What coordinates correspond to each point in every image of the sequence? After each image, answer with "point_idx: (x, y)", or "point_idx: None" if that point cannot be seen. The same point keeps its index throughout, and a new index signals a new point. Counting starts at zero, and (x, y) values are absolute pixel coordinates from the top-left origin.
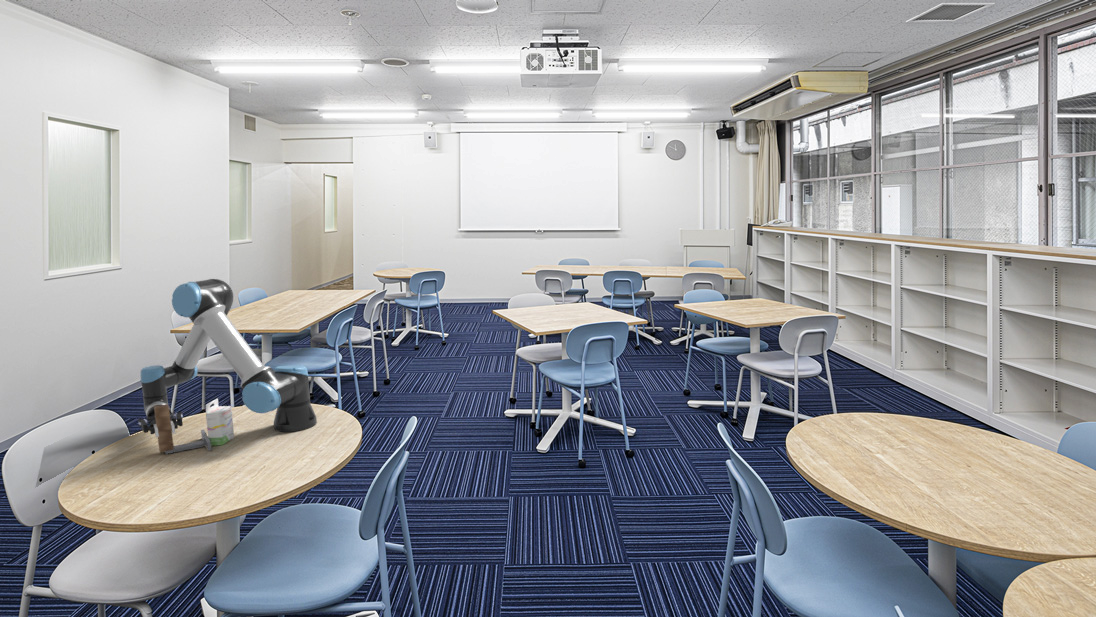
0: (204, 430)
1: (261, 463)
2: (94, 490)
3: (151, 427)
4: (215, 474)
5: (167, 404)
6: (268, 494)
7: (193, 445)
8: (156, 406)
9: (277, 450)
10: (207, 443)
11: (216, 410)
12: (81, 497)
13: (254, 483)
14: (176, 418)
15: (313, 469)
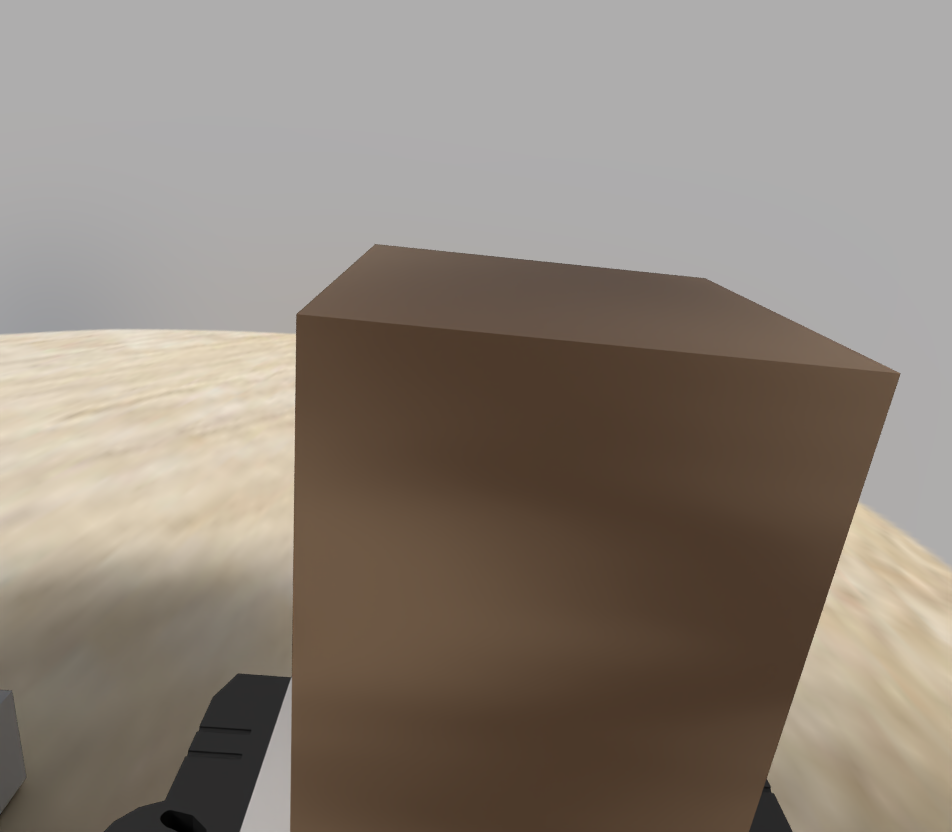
0: None
1: (47, 436)
2: (870, 594)
3: (757, 826)
4: (280, 454)
5: (322, 305)
6: (242, 335)
7: None
8: (762, 344)
9: None
10: (11, 703)
11: None
12: (890, 560)
13: (222, 369)
14: None
15: (5, 347)
